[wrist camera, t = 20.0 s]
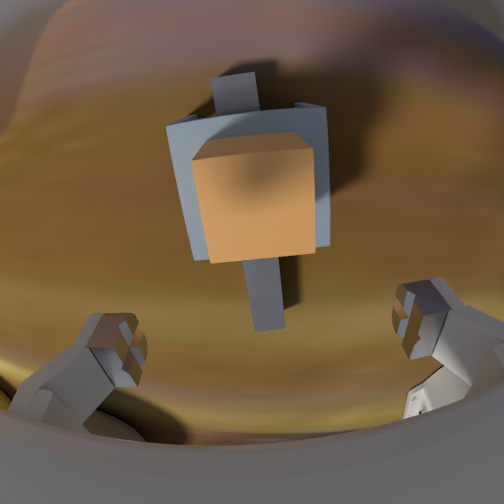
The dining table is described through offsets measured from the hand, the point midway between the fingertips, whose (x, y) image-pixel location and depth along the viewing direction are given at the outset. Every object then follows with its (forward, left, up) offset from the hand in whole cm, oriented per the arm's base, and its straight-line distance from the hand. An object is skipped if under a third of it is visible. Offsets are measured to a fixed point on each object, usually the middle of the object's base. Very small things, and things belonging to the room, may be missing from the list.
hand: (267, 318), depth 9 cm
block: (+1, 0, -11) cm, 11 cm away
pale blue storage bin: (0, 0, -17) cm, 17 cm away
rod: (-4, 0, -18) cm, 18 cm away
